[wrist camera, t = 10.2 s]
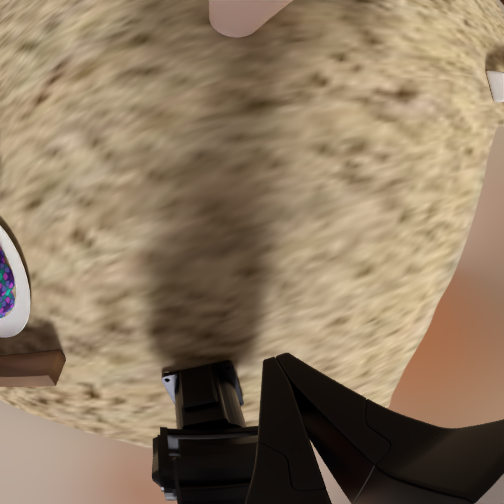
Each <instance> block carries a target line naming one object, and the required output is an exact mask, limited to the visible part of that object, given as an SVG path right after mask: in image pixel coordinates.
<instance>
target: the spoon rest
mask: <svg viewBox="0 0 504 504" xmlns="http://www.w3.org/2000/svg"><path fill="white" fill-rule="evenodd" d="M486 73H487V78H488V81H489V85H490V89H491V93H492V96H493V99H494V101H495V102H504V72H499V71H487V72H486Z"/></svg>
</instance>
